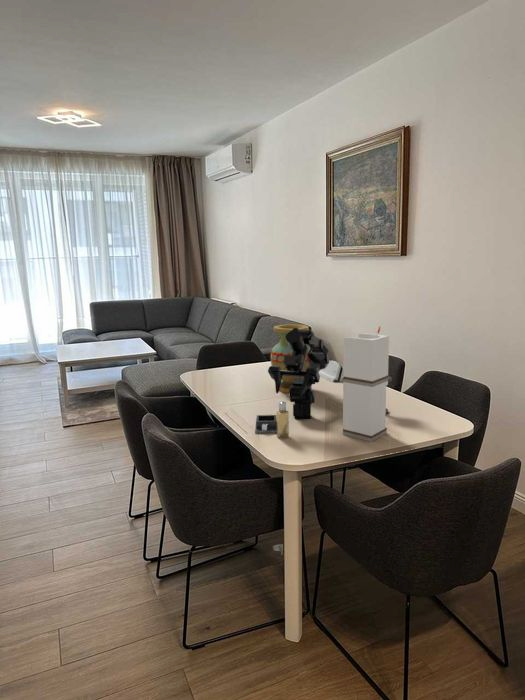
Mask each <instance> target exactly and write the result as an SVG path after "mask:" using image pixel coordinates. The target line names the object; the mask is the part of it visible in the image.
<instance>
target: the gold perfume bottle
mask: <svg viewBox="0 0 525 700" xmlns="http://www.w3.org/2000/svg"><path fill="white" fill-rule="evenodd" d="M289 414H290V413H289V411H288V410H287V403H286V401H278V411H276V419H277V433H276V438H277V439H280V440H286V439H289V437H290V424H289V423H290V420H289V418H290V416H289Z"/></svg>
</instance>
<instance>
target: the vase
mask: <svg viewBox="0 0 525 700" xmlns="http://www.w3.org/2000/svg"><path fill="white" fill-rule="evenodd" d="M293 328H298V329H303V330H310V326H309V325H306V324H293V323H292V324H280V325H274V326H273V331H274V332H275V333H278V334H279V336H280V340H279V342H277V344H275V345H274V346H273V347H272V350H271V352H270V364H271V365H270V366H280V368H281V370H287V368H285V364H283V361H284V355H291V353H292V350H291V349H290V347H289V345H288V343H287V340H286V334H287V333H288V332H290V331H292V330H293ZM305 345H306V344H305ZM306 346H307V348H308V352H309V350H310V346H308V345H306ZM312 352H313V349H312V350H311V353H312ZM309 365H310V364H309V359H308V354H307V355H306V359H305V367H303V371H302V372H305V371H306V369H307V368H308V366H309ZM296 378H299V379H301V378H302V377H296V376H284V375H283V376H282V378H281V380H282V382H281V386H280V389H279V392H280V393H284V394H285V393H286V394H289V390H290V387H291V386H292V385H293V384H292V383H293V382H294V380H295V379H296Z"/></svg>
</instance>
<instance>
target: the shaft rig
mask: <svg viewBox="0 0 525 700" xmlns="http://www.w3.org/2000/svg"><path fill="white" fill-rule="evenodd" d="M254 433H255V434H277V414H268V413H267V414H265V415H264V414H261V415H260V414H257V415H256V420H255V428H254Z"/></svg>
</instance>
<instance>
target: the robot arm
mask: <svg viewBox="0 0 525 700" xmlns="http://www.w3.org/2000/svg"><path fill="white" fill-rule="evenodd" d="M286 340H287V343H288V345H289V347H290V349H291V350H292V353H291V355H284V361H283V364H285V368H287V370H281V368H280V366H272V365H270V366H269V367H268V369H267V372H268V374H269V376H270V378H271V379H272V380H274V384H275V386H274V387H275V393H276V394H279V392H280V391H279V389H280V386H281V382H282V380H281V378H282V376H283V375H284V376H296V377H302V378H301V379H299V378H296V379H295V380H294V382H293V383H292V384H293V385H292V386H291V387H290V390H289V393H288V394H289V401H290V403H293V404H292V414H293V415H292V416H293V417H294V419H295V420H303V419H305V420H311V419H312V415H311V414H312V412H311V411H312V409H311V408H312V405H311V404H314V403H315V402H316V401H315V400H316V399H315V397H316V395H315V392H314V391H313V390H314V389H312V388H313V387H312V385H315V384H318V383H320V379H321V377H320V375H319V372H321V371H322V369H325V368H326V367H327V365H328V364H329V361H331V360H330V359H331V357H330V353H329V349H328V348H327V347H326V346H325V344H324V340H323V339H320V338H319V337H317V336H315V333H314V331H313V330H312V329H309V330H303V329H298V328H293V330H292V331H290V332H288V333H287V334H286ZM305 344H306V345H308V346H309V347H310V350H309V352H308V348H307V346H306V345H305ZM313 349H320V351H321V352H313ZM311 350H312V353H311ZM307 354H308V359H309V364H310V365H309V366H308V368H307V369H306V371H305V372H302V371H303V367H305V359H306V355H307Z"/></svg>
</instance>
